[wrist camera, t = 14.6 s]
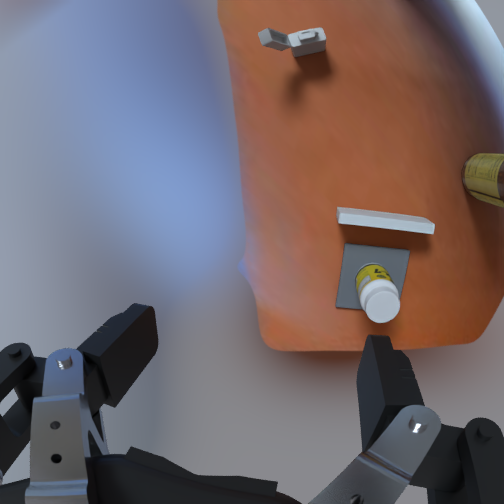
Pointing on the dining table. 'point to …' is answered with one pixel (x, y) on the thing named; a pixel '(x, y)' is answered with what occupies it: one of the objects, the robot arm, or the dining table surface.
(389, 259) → the coaster
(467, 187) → the sauce bottle
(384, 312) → the supplement bottle
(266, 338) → the dining table surface
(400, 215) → the wall
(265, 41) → the lighter
